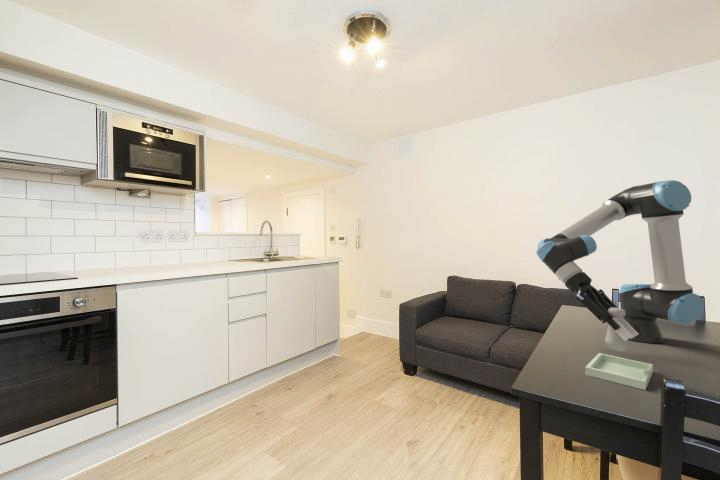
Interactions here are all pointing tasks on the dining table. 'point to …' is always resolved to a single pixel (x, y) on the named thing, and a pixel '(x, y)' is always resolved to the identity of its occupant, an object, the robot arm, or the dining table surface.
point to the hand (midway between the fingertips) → (631, 337)
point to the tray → (620, 370)
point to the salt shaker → (612, 337)
